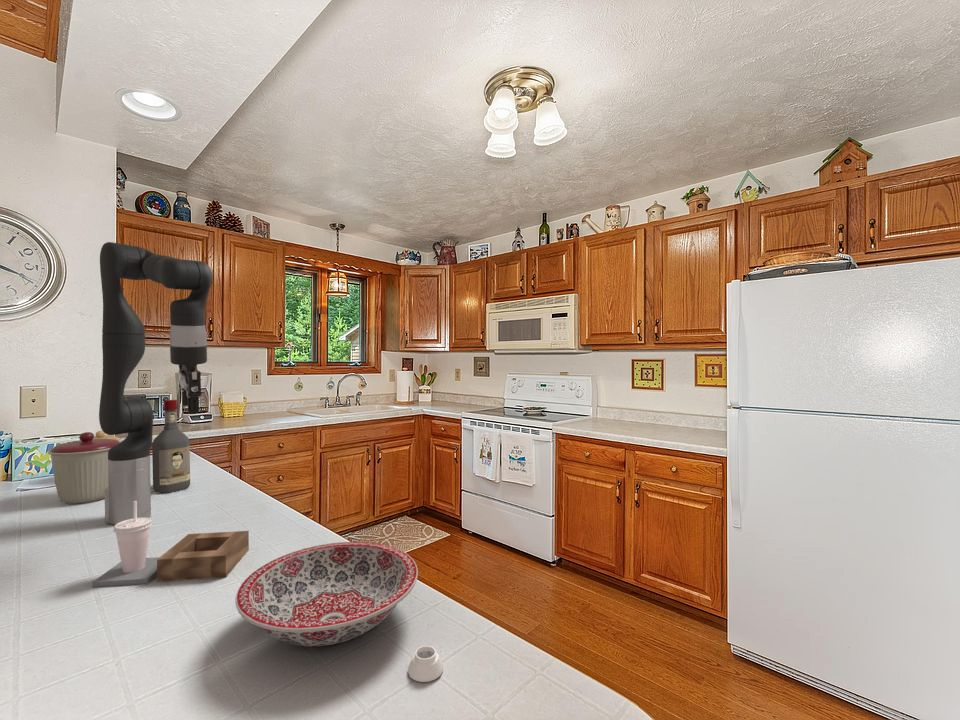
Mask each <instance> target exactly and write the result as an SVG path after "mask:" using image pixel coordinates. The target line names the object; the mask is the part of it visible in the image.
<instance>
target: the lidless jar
mask: <svg viewBox="0 0 960 720" xmlns="http://www.w3.org/2000/svg"><path fill="white" fill-rule="evenodd" d="M443 671H444V663H443V661H442V659H441V658H440V656H439V654H438V652H437V649H436V648H435V647H433V646H431V645H422V646H420V647H418V648H417V649H416V650H415V652H414V654H413V656H412V657H411V660H410V663H409V664H408V667H407V673H408V675H409V677H410V678H411V679H412V680H414V681H415V682H420V683H426V682H427V683H428V682H432V681H434V680H436V679H438V678H439V677H440V676H441V675H442V673H443Z"/></svg>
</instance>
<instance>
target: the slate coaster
mask: <svg viewBox="0 0 960 720" xmlns="http://www.w3.org/2000/svg"><path fill="white" fill-rule="evenodd" d="M160 557H161V556H158V557H157V556H156V557H146V561H145V567H144V568H143V569H141V570H139V571H135V572H131V573H125V572H123V569H122V564H121V561H119V562H118V563H117V564H116V565H115V566H113V567H111V568H110V569H109V570H107V571H106V572H104V573H103V574H102V575H100V576H99V577H98V578H96V579H95V580H93V581H92V582H91V583H92V584H91V585H92V588H99V587H101V588H102V587H117V586H127V585H128V586H129V585H147V584H149V583H150V582H151V581H152V580H153V579H154V578H157V559H158V558H160Z"/></svg>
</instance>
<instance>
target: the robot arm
mask: <svg viewBox="0 0 960 720" xmlns="http://www.w3.org/2000/svg"><path fill="white" fill-rule="evenodd" d="M99 269H100V271H99V272H100V282H101V291H102V293H101V294H102V328H101V333H102V334H101V337H102V338H101V342H102V344H101V348H102V378H101V379H102V380H101V388H100V389H101V391H100V397H99V398H100V399H99V408H98V409H99V410H98V421H99V426H100V429H101V431H103V432H104V433H105V435H115V436H116V435H123V434H127V435H126V437H125V438H124V439H123V440H122V441H120V442H121V443H119V444H117V445H115V446H113V447H112V448H110V449H109V451H108V482H109V487H107V488H105V498H104V523H105V524H110V525H114V526H115V525H116V524H117V523H119V522H122V521H125V520H128V519H133V518H134V506H133V501H137V518H142V517H146V518H150V517H151V515H152V504H151V503H152V500H151V499H152V495H151V494H152V492H151V489H152V487H151V486H152V485H151V449H152V443H153V431H154V430H153V429H154V411H153V407H152V405H151V402H150V401H148V399H145V398H141V397H139V398H138V397H137V398H127V399H124V396H125V395H124V394H125V387H126V384H127V382H128V379H129V377H130V376H131V375H132V374H133V372H134V370H135V369H136V367H137V366H138V364H139V363H140V361H141V360H142V359H143V356H144V355H145V350H146V329H145V325H144V324H143V321H142V320H141V318H140V317H139V316H138V314H137V313H136V311H135V310H134V309H133V308H132V306H131V305H130V304H129V302H128V301H127V299H126V297H125V295H124V292H123V288H122V284H121V279H123V280H131V281H147V280H150V281H152V282H155V283H157V284H162V286H163V287H164V288H167V289H171V290H184V291H185V290H189V291H190V293H189V295H188V296H187V297H186V298H181V299H176V300H173V301H172V302H170V305H169V315H170V316H169V318H170V319H169V320H170V329H169V348H170V349H169V358H170V363H171V364H172V365H176V366H177V365H178V368H179V369H178V383H179V384H178V385H179V389H180V391H181V405H182V406H185V407H187V412H188V413H189V414H197V413H199V412H200V397H201V396H202V393H203V392H202V385H201V384H202V382H201V381H202V379H201V375H202V372H201V371H200V370H198V367H197V366H198V365H203V364H206V363H207V362H208V342H207V329H206V306H207V301H208V297H209V294H210V290H211V287H212V283H213V278H214V277H213V270H212V269H211V267H210V265H209V264H208V263H206V262H205V261H202V260H194V259H193V260H192V259H184V258H183V259H182V258H176V257H173V256H169V255H162V254H155V253H153V252H152V251H150V250H148V249H146V248H144V247H140V246H136V245H131V244H124V243H119V242H114V241H113V242H111V241H107V242H105V243H104V244H103V245H101V248H100V253H99Z"/></svg>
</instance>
